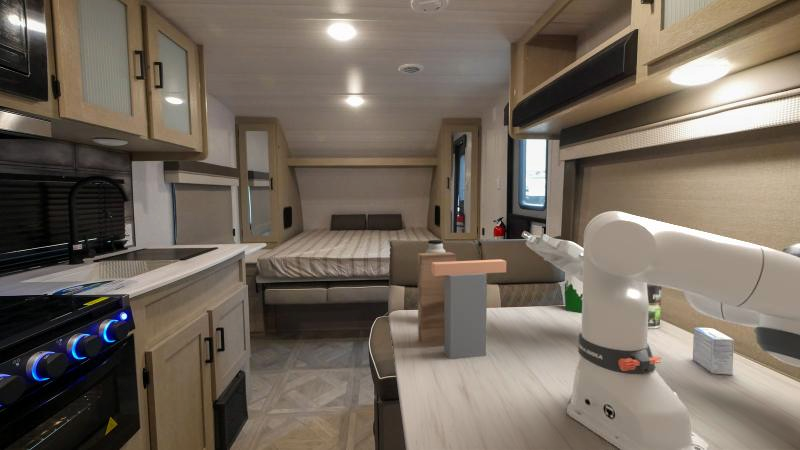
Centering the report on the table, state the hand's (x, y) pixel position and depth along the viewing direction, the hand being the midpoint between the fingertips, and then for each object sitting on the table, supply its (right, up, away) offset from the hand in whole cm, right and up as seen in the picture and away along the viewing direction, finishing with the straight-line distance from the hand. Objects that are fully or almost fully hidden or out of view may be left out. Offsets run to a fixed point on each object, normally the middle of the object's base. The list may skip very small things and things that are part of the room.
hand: (532, 234), depth 105 cm
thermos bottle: (-26, -30, +19) cm, 44 cm away
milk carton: (+28, -29, +31) cm, 51 cm away
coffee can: (+42, -30, +16) cm, 54 cm away
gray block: (-21, -32, -7) cm, 39 cm away
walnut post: (-28, -31, +1) cm, 42 cm away
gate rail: (-20, -10, -8) cm, 24 cm away
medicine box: (+38, -32, -16) cm, 53 cm away
